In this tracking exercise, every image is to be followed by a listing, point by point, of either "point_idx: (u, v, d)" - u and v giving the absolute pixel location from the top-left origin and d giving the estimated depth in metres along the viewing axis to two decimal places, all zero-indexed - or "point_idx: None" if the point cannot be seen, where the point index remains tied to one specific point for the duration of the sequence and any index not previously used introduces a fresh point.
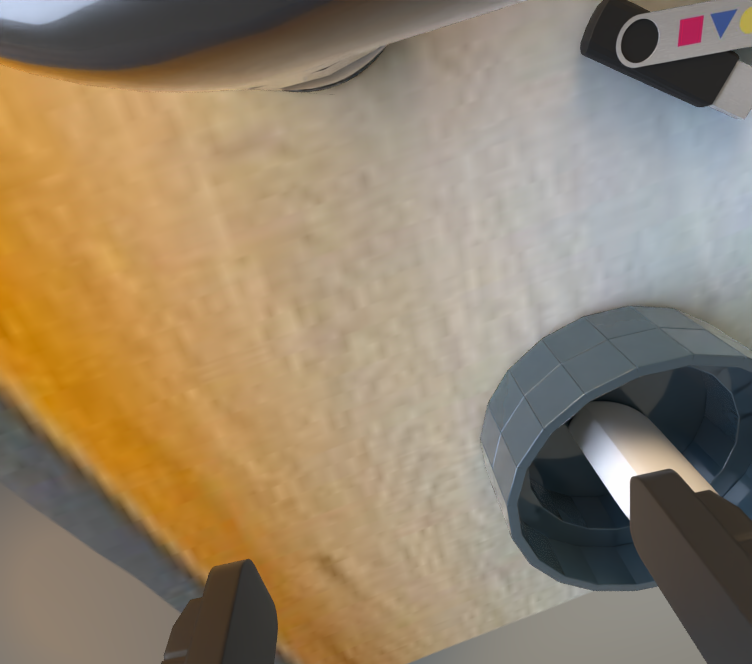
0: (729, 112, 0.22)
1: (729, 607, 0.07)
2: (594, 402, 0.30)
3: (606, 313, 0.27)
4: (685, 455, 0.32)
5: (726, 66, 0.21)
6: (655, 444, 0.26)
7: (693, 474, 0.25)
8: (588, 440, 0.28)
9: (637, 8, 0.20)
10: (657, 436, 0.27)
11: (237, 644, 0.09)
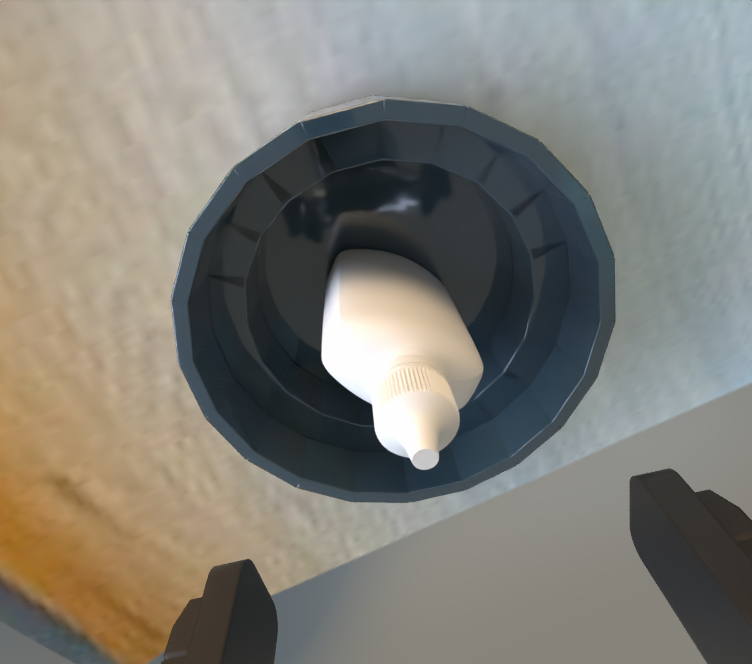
0: None
1: (729, 607, 0.07)
2: (354, 249, 0.22)
3: (338, 104, 0.19)
4: (496, 333, 0.24)
5: None
6: (399, 282, 0.19)
7: (432, 312, 0.17)
8: (328, 290, 0.20)
9: None
10: (416, 280, 0.20)
11: (237, 644, 0.09)
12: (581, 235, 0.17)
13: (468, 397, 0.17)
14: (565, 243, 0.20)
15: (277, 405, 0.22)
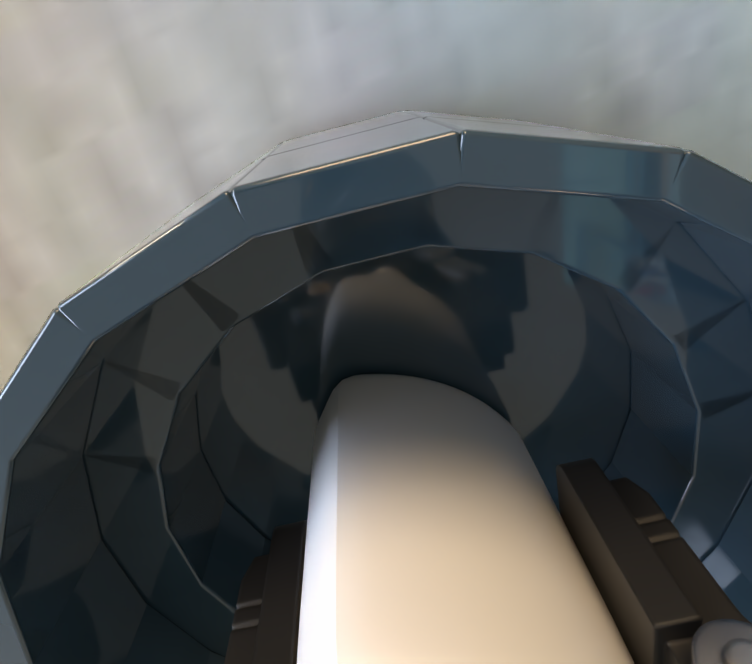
0: None
1: (622, 581, 0.08)
2: (364, 376, 0.13)
3: (336, 128, 0.10)
4: None
5: None
6: (458, 485, 0.09)
7: (540, 588, 0.08)
8: (316, 469, 0.11)
9: None
10: (483, 460, 0.10)
11: None
12: None
13: None
14: None
15: None
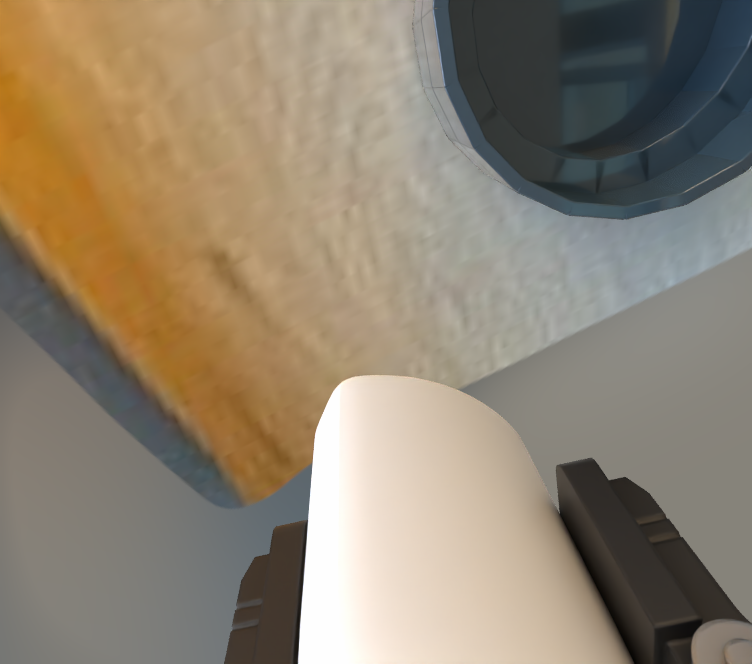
0: None
1: (622, 581, 0.08)
2: (364, 377, 0.13)
3: None
4: (694, 74, 0.23)
5: None
6: (459, 487, 0.09)
7: (540, 589, 0.08)
8: (317, 470, 0.11)
9: None
10: (484, 461, 0.10)
11: None
12: None
13: None
14: None
15: (483, 125, 0.22)
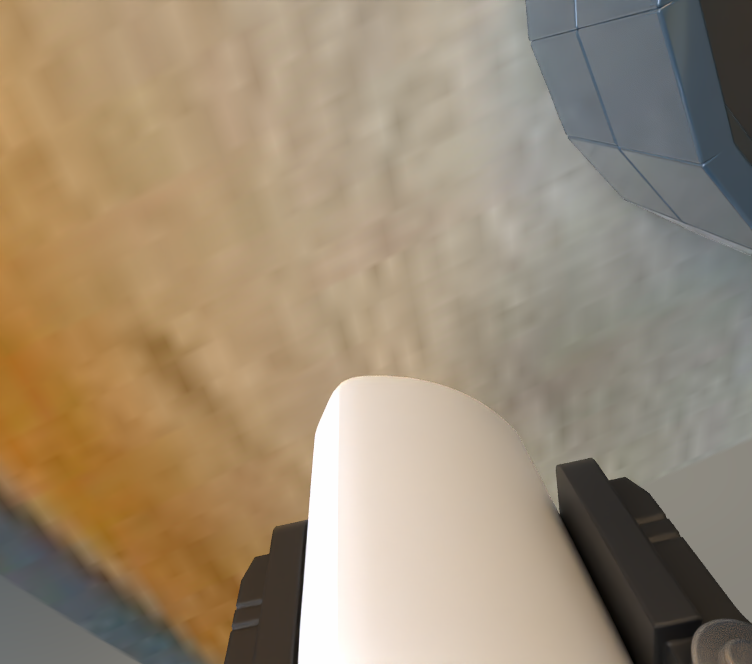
0: None
1: (622, 581, 0.08)
2: (364, 377, 0.13)
3: None
4: None
5: None
6: (458, 487, 0.09)
7: (540, 590, 0.08)
8: (317, 470, 0.11)
9: None
10: (483, 462, 0.10)
11: None
12: None
13: None
14: None
15: None
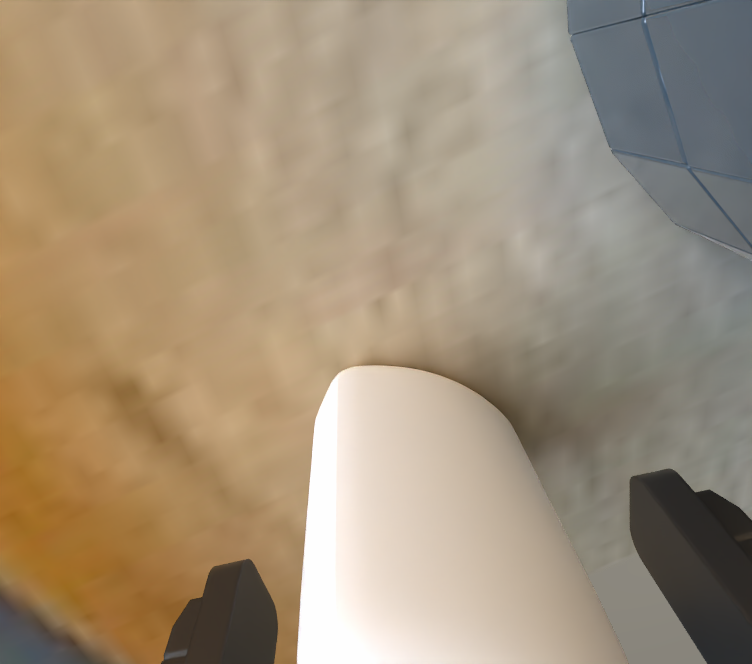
0: None
1: (729, 607, 0.07)
2: (362, 367, 0.13)
3: None
4: None
5: None
6: (450, 466, 0.10)
7: (524, 558, 0.08)
8: (316, 454, 0.12)
9: None
10: (474, 445, 0.11)
11: (237, 644, 0.09)
12: None
13: None
14: None
15: None
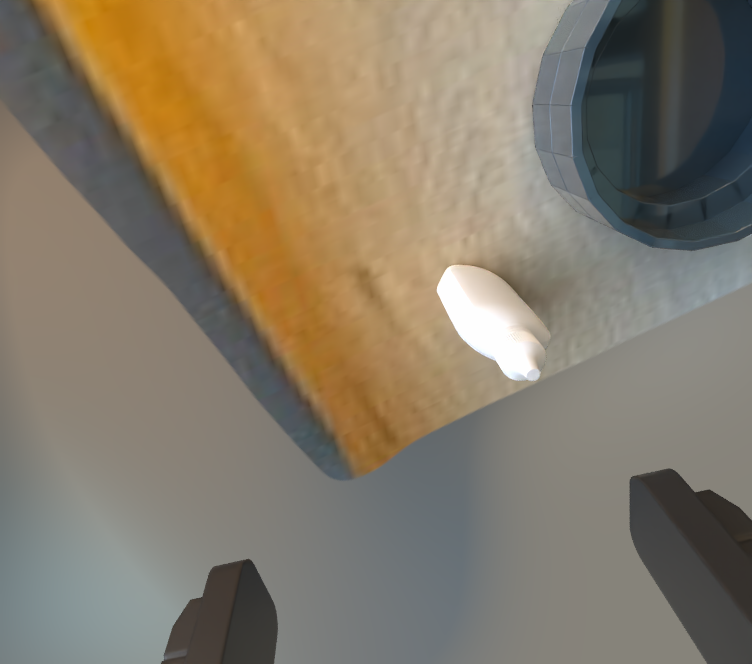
0: None
1: (729, 607, 0.07)
2: (457, 265, 0.34)
3: None
4: (740, 140, 0.31)
5: None
6: (495, 286, 0.31)
7: (519, 303, 0.29)
8: (445, 290, 0.32)
9: None
10: (502, 285, 0.32)
11: (237, 644, 0.09)
12: None
13: None
14: None
15: None
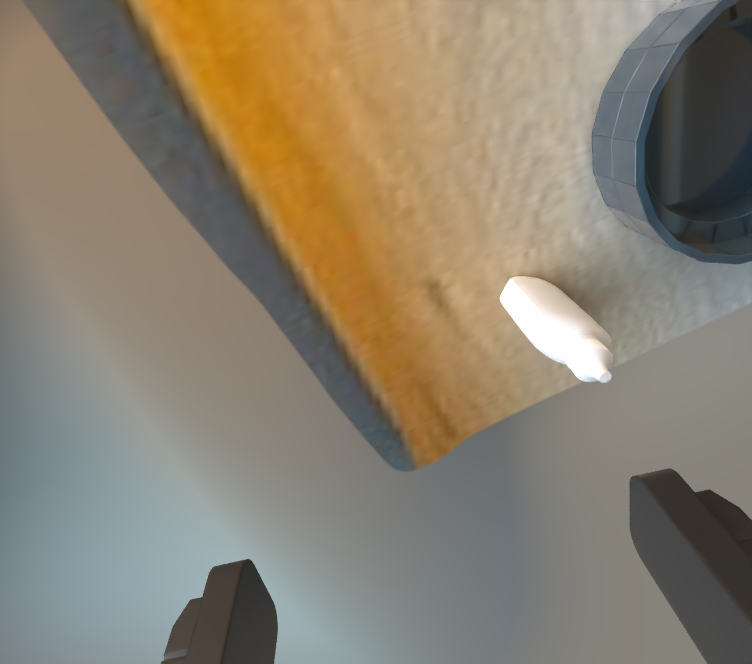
0: None
1: (729, 607, 0.07)
2: (518, 276, 0.38)
3: None
4: None
5: None
6: (558, 297, 0.34)
7: (582, 312, 0.33)
8: (510, 300, 0.36)
9: None
10: (563, 295, 0.36)
11: (237, 644, 0.09)
12: None
13: None
14: None
15: None
